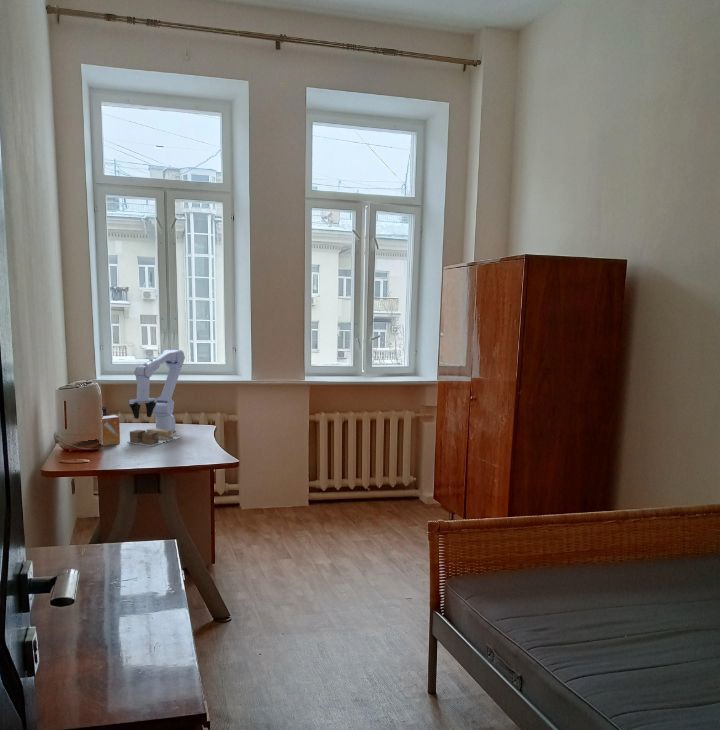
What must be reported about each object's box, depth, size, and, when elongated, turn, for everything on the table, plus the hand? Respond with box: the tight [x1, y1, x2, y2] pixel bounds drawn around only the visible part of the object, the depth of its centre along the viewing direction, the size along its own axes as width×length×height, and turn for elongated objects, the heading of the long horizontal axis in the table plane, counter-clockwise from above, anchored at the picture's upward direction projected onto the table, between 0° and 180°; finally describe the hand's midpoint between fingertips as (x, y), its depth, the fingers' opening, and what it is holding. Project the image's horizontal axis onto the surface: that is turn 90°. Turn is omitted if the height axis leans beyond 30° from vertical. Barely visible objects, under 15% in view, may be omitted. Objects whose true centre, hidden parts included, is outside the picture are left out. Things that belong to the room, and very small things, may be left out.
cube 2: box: [142, 431, 159, 445], centre depth 267 cm, size 5×5×5 cm
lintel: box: [145, 427, 174, 440], centre depth 278 cm, size 4×13×4 cm, turn 66°
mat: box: [126, 436, 180, 447], centre depth 274 cm, size 18×16×1 cm
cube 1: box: [129, 429, 147, 443], centre depth 270 cm, size 5×5×5 cm
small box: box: [101, 414, 121, 447], centre depth 267 cm, size 8×6×13 cm
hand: (142, 417), depth 276 cm, fingers open, 7 cm apart
